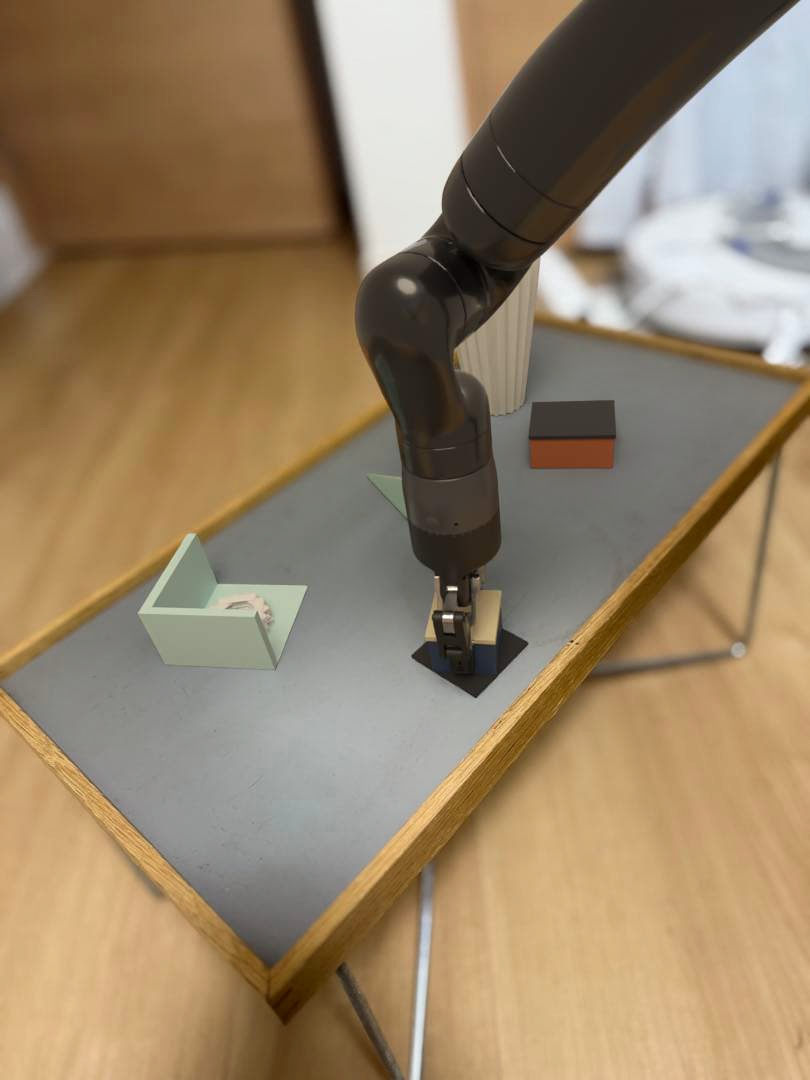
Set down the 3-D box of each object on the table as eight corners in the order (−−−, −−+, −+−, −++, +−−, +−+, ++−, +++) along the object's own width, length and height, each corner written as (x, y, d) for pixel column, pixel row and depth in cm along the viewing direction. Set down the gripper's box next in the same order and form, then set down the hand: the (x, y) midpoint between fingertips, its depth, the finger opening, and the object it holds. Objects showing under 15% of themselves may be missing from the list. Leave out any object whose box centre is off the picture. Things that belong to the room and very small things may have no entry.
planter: (324, 501, 90) (417, 531, 77) (348, 458, 91) (443, 481, 78) (364, 528, 95) (457, 561, 82) (386, 487, 96) (481, 513, 83)
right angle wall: (274, 669, 69) (254, 617, 64) (165, 664, 72) (137, 613, 67) (307, 585, 78) (291, 533, 73) (209, 583, 81) (187, 533, 76)
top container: (504, 626, 69) (501, 590, 66) (498, 677, 64) (495, 640, 61) (441, 623, 70) (435, 587, 67) (430, 673, 66) (424, 636, 63)
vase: (433, 412, 104) (410, 227, 87) (487, 374, 111) (475, 195, 94) (507, 436, 96) (496, 237, 80) (560, 393, 103) (561, 202, 87)
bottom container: (612, 433, 93) (614, 399, 90) (614, 469, 87) (616, 434, 84) (533, 434, 96) (532, 401, 93) (529, 469, 90) (528, 435, 86)
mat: (464, 609, 72) (463, 606, 72) (528, 644, 67) (528, 641, 67) (411, 658, 68) (411, 655, 68) (475, 698, 63) (475, 695, 63)
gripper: (489, 562, 50) (500, 707, 61) (506, 452, 61) (513, 591, 71) (387, 559, 52) (416, 701, 62) (421, 452, 62) (441, 588, 73)
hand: (468, 642), depth 67 cm, fingers closed on top container, 6 cm apart
